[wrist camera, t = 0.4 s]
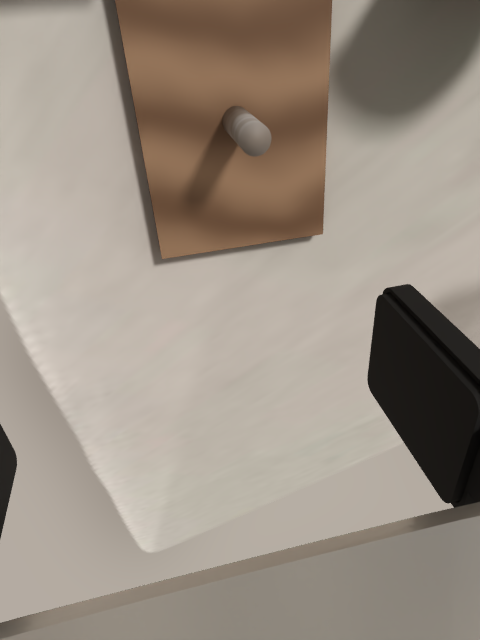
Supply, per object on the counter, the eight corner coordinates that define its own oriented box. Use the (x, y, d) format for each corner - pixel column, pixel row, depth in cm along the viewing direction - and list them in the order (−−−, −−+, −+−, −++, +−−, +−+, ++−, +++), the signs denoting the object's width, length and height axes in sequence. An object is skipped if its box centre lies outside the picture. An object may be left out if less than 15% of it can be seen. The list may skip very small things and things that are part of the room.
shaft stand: (106, -48, 28) (102, -62, 22) (327, -62, 30) (378, -79, 24) (161, 252, 39) (168, 295, 33) (317, 228, 41) (350, 265, 35)
